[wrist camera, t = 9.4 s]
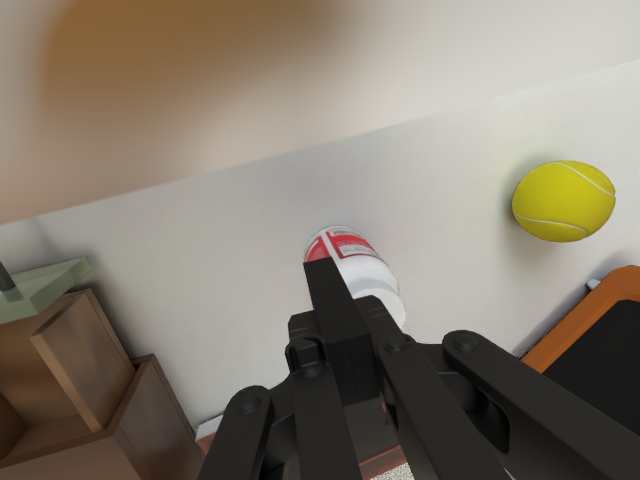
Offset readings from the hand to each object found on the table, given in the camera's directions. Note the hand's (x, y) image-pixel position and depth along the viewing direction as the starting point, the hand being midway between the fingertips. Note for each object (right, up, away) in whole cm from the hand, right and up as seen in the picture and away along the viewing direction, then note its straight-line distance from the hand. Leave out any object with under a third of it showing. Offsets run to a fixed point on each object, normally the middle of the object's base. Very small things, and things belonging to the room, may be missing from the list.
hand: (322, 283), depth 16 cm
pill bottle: (+1, +1, +14) cm, 14 cm away
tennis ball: (+20, +7, +15) cm, 26 cm away
